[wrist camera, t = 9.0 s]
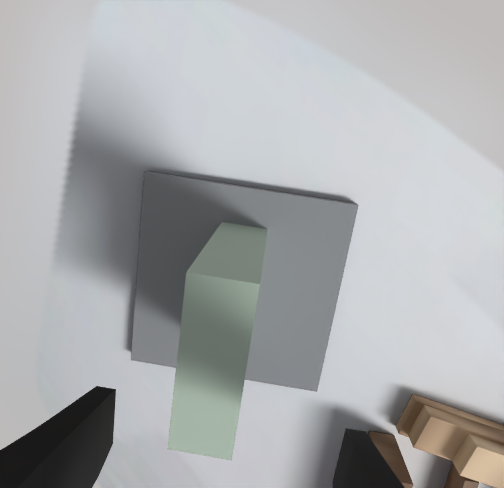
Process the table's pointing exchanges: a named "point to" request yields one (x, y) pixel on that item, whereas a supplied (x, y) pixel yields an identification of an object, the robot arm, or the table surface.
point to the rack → (390, 451)
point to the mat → (272, 277)
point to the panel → (216, 340)
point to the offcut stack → (456, 438)
